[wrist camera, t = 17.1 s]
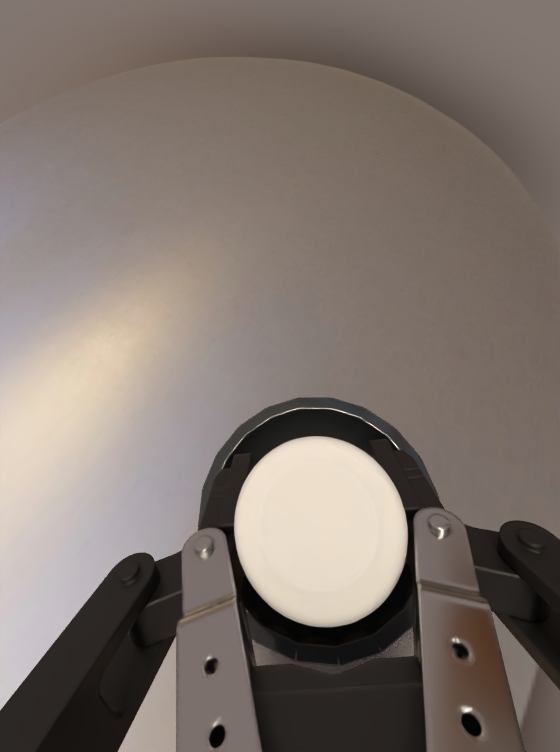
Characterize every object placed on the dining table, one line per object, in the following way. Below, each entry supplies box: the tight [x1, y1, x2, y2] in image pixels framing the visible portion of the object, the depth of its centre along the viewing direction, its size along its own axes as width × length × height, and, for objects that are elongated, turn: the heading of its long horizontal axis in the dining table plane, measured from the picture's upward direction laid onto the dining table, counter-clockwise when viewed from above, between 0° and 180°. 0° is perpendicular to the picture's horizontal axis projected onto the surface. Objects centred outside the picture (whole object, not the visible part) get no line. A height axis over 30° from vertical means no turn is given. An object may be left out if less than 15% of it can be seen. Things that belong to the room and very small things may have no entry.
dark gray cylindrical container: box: [198, 398, 439, 666], centre depth 17 cm, size 10×10×9 cm
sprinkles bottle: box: [234, 436, 408, 627], centre depth 14 cm, size 5×5×14 cm
